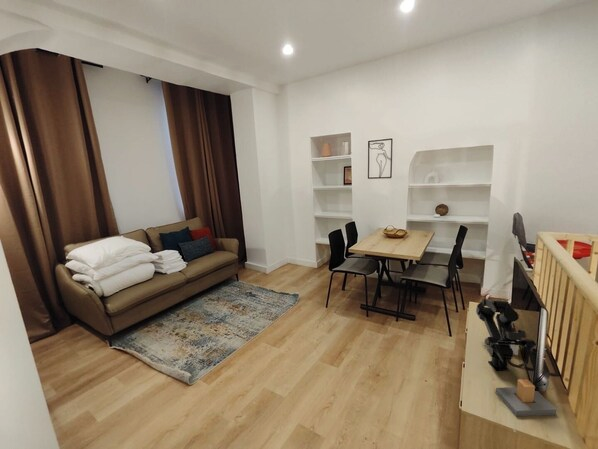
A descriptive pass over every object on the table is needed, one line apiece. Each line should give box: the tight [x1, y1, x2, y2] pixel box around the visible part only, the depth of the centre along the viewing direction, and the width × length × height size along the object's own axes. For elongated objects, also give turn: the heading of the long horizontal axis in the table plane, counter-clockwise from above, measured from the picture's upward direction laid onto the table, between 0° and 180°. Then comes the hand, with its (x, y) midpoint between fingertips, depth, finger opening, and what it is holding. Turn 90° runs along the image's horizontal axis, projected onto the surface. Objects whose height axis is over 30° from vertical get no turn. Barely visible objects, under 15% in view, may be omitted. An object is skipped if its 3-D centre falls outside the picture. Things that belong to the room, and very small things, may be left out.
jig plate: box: [495, 386, 558, 417], centre depth 117 cm, size 12×16×2 cm
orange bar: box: [516, 378, 536, 403], centre depth 117 cm, size 4×4×10 cm
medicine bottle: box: [510, 329, 520, 356], centre depth 149 cm, size 7×7×12 cm
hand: (515, 363), depth 122 cm, fingers open, 9 cm apart
